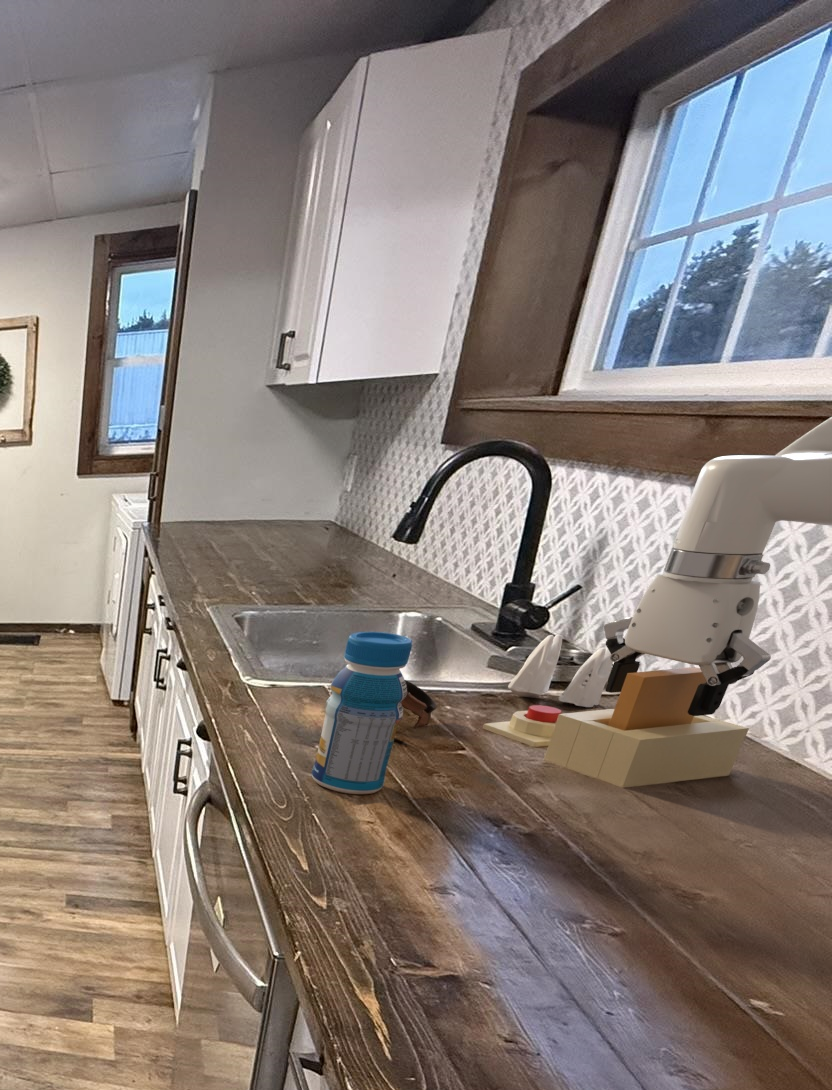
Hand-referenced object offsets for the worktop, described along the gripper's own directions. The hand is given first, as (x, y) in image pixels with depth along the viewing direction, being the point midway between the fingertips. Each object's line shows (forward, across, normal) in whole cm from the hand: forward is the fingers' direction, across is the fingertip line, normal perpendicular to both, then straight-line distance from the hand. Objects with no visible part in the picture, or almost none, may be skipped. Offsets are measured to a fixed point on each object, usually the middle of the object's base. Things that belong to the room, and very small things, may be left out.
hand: (657, 702), depth 105 cm
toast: (+9, 0, 0) cm, 9 cm away
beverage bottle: (+11, +7, +36) cm, 38 cm away
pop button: (+7, +13, 0) cm, 15 cm away
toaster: (+10, 0, 0) cm, 10 cm away
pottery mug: (+11, +25, +14) cm, 31 cm away
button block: (+11, +13, 0) cm, 17 cm away
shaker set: (+11, +28, -20) cm, 36 cm away
